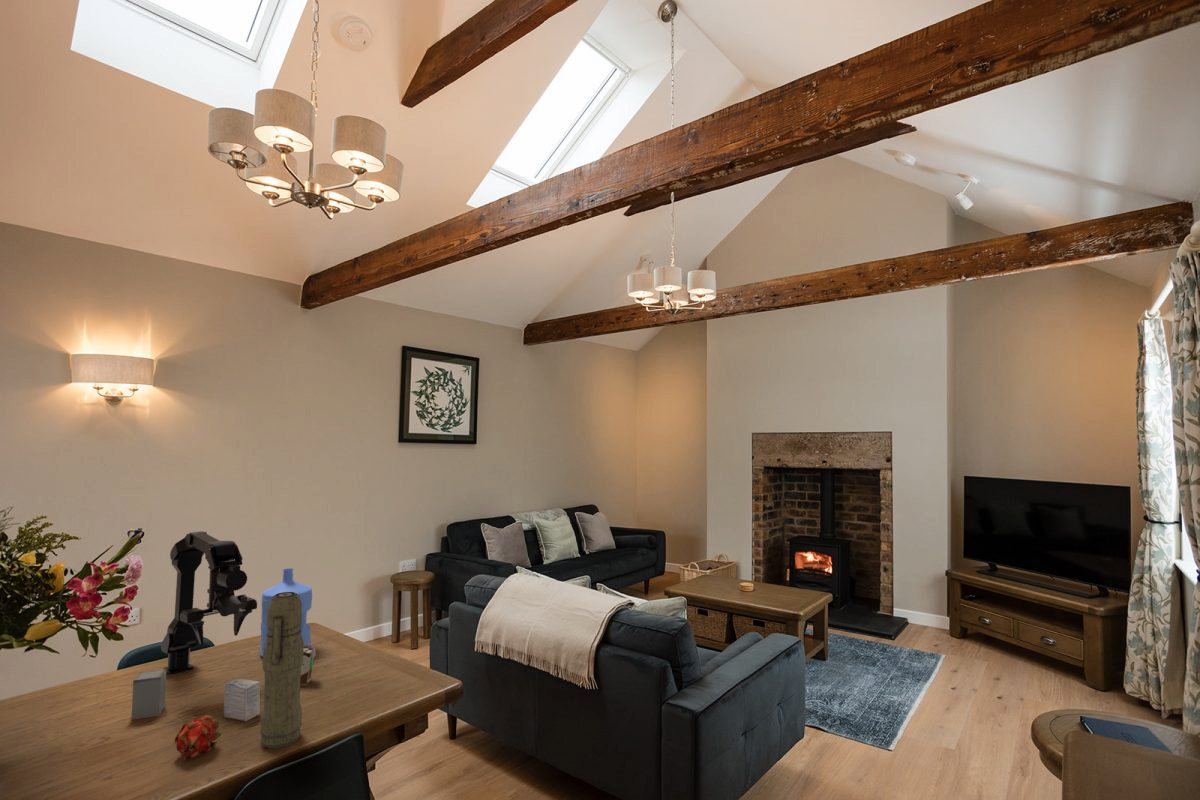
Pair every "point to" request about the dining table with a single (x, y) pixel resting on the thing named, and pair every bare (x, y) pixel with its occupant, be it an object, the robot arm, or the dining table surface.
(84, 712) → the dining table surface
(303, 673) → the food container
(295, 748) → the dining table surface
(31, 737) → the dining table surface
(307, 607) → the water jug
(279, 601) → the thermos
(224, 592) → the robot arm
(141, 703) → the grey bordered box
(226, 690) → the medicine box
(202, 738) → the dragon fruit
